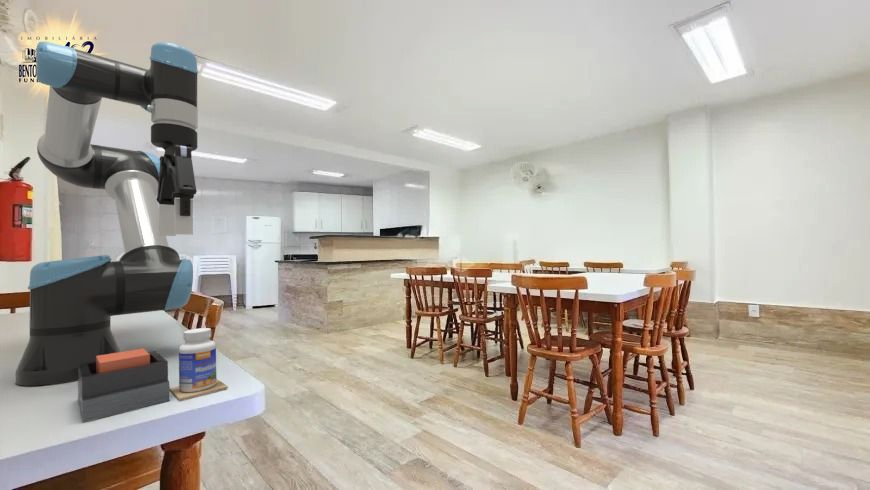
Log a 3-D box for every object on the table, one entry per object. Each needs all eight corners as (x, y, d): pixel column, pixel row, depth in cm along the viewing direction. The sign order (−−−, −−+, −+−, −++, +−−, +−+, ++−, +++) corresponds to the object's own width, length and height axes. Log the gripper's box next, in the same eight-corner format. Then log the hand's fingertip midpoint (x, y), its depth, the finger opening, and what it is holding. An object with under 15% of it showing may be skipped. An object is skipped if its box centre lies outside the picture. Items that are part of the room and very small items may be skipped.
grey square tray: (78, 400, 60) (77, 362, 60) (154, 383, 67) (154, 350, 67) (82, 422, 52) (82, 379, 52) (169, 400, 59) (169, 362, 59)
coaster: (169, 390, 63) (169, 388, 63) (215, 379, 68) (215, 377, 68) (179, 401, 58) (179, 398, 58) (227, 388, 64) (227, 386, 64)
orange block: (96, 387, 59) (96, 355, 59) (143, 377, 64) (143, 348, 64) (100, 396, 55) (99, 363, 55) (150, 385, 59) (149, 354, 60)
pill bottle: (198, 394, 60) (197, 334, 60) (171, 392, 61) (170, 333, 62) (224, 382, 66) (223, 327, 66) (198, 380, 67) (197, 326, 67)
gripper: (140, 136, 79) (140, 235, 79) (165, 105, 62) (165, 233, 62) (181, 143, 84) (181, 236, 84) (215, 117, 67) (216, 234, 67)
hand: (175, 235), depth 73 cm, fingers open, 13 cm apart
